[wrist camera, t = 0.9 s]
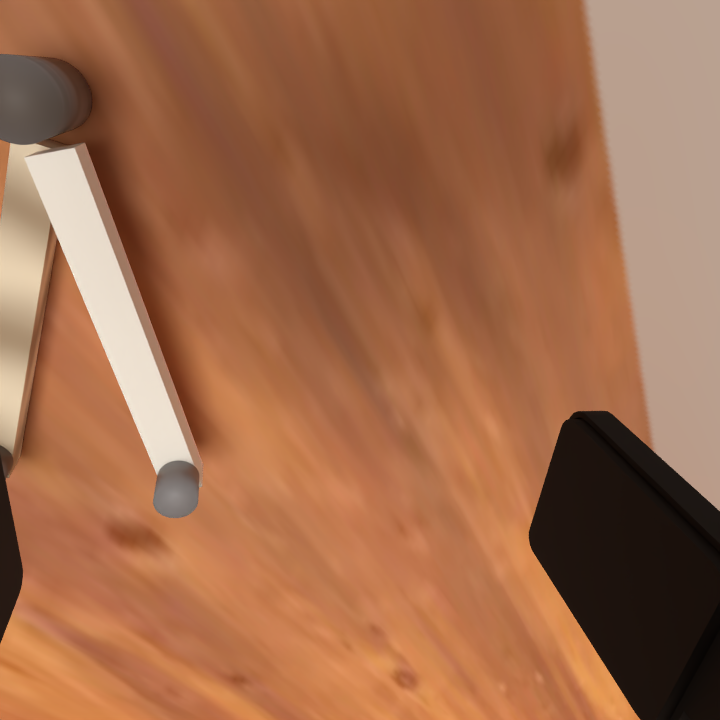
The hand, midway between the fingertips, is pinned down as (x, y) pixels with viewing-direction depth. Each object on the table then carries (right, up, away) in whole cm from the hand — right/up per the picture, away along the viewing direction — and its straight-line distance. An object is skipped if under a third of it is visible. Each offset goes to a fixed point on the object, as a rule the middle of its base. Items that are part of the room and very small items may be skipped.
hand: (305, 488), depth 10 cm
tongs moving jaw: (-11, +4, +20) cm, 22 cm away
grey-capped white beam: (-16, +6, +20) cm, 26 cm away
